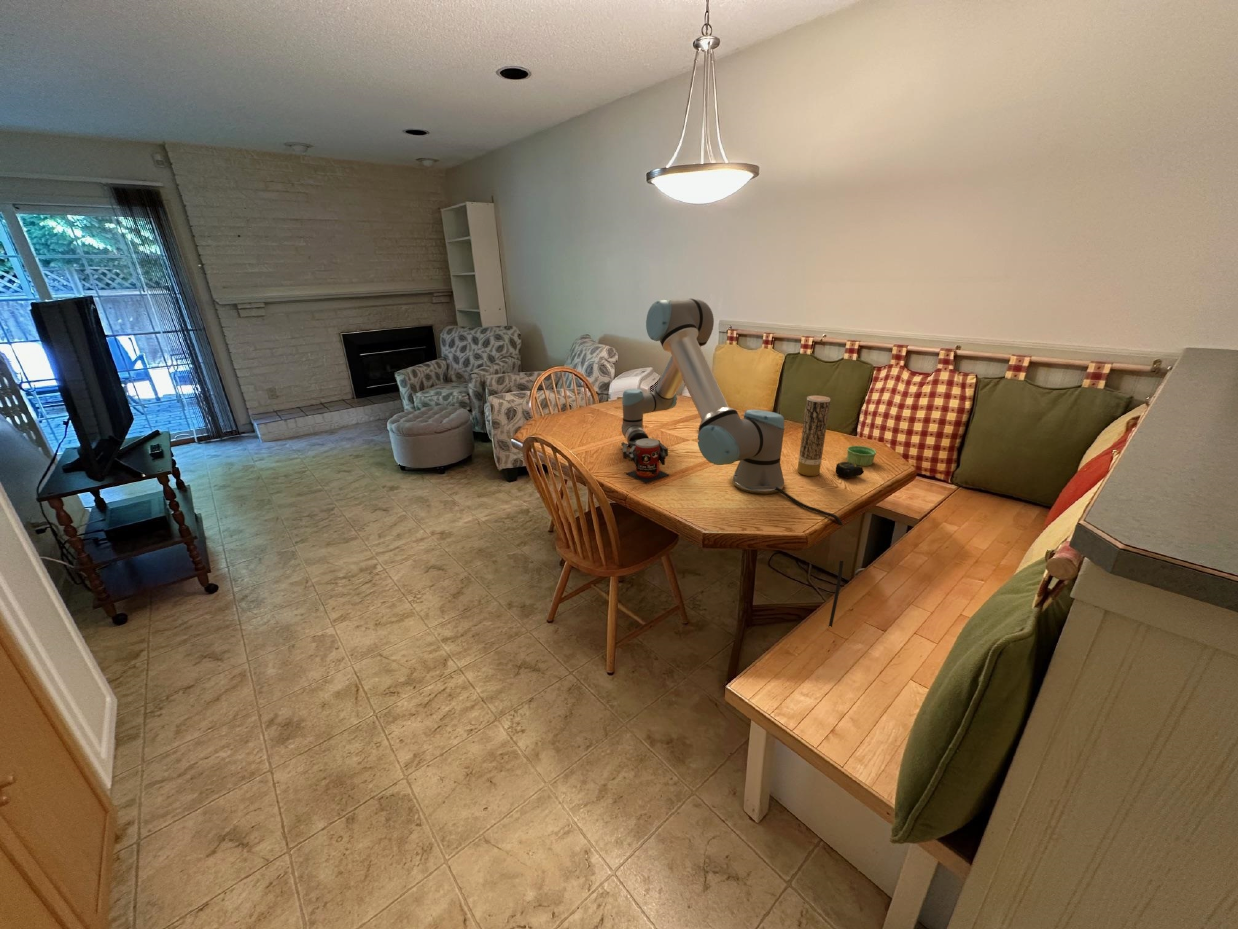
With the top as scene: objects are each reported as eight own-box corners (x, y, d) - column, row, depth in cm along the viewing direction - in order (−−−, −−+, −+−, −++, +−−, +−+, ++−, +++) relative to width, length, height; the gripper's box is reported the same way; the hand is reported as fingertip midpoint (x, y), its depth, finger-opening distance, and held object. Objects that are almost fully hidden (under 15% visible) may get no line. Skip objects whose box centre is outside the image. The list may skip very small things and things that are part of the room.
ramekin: (850, 466, 161) (852, 454, 159) (841, 457, 169) (843, 445, 168) (878, 467, 160) (880, 454, 158) (868, 457, 168) (870, 445, 167)
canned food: (634, 477, 154) (633, 445, 150) (637, 468, 161) (637, 437, 157) (657, 479, 153) (658, 446, 148) (660, 469, 160) (660, 438, 156)
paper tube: (815, 469, 159) (826, 395, 150) (821, 477, 153) (833, 400, 144) (794, 468, 160) (804, 395, 151) (800, 476, 153) (810, 400, 144)
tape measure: (846, 481, 149) (848, 470, 148) (830, 473, 155) (831, 463, 154) (862, 478, 152) (865, 467, 150) (846, 470, 158) (848, 459, 156)
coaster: (669, 475, 156) (669, 474, 156) (646, 483, 150) (646, 482, 150) (648, 466, 163) (648, 465, 163) (626, 474, 158) (626, 473, 158)
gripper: (665, 447, 174) (681, 470, 153) (609, 451, 171) (618, 475, 150) (665, 427, 171) (682, 448, 150) (608, 431, 169) (617, 452, 148)
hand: (650, 461), depth 150 cm, fingers closed on canned food, 8 cm apart
